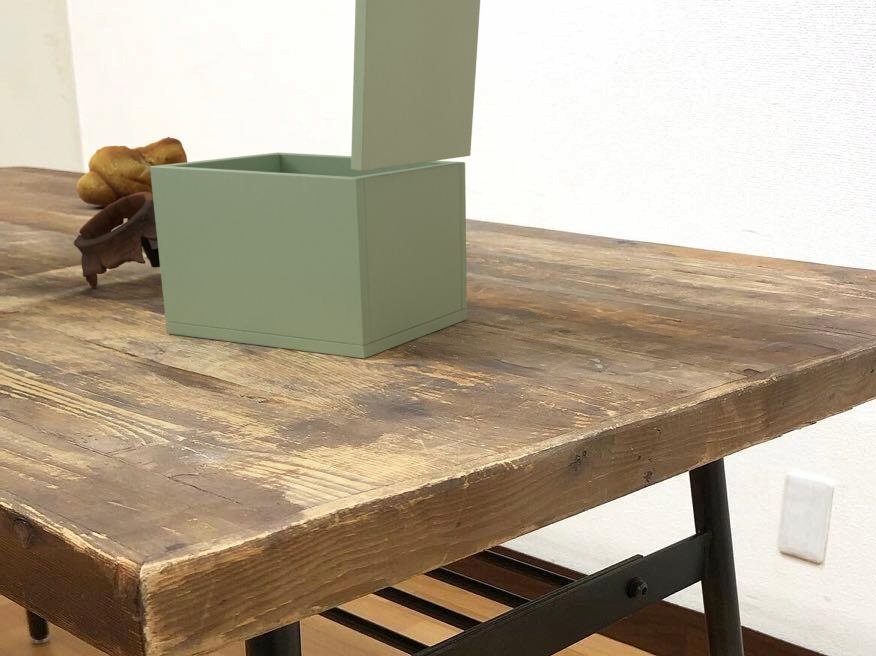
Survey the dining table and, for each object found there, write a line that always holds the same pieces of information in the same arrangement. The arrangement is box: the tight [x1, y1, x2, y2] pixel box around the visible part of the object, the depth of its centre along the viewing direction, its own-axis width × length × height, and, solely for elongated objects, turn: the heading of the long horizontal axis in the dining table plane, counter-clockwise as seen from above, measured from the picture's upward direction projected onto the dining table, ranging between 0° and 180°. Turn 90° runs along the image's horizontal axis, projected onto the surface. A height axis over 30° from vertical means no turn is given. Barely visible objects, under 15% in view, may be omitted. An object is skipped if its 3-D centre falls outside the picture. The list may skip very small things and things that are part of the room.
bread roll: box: [76, 136, 188, 207], centre depth 148 cm, size 13×10×8 cm
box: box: [150, 152, 468, 359], centre depth 84 cm, size 16×14×11 cm
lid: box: [350, 0, 481, 171], centre depth 75 cm, size 16×14×1 cm
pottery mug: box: [73, 192, 160, 289], centre depth 99 cm, size 12×10×8 cm
